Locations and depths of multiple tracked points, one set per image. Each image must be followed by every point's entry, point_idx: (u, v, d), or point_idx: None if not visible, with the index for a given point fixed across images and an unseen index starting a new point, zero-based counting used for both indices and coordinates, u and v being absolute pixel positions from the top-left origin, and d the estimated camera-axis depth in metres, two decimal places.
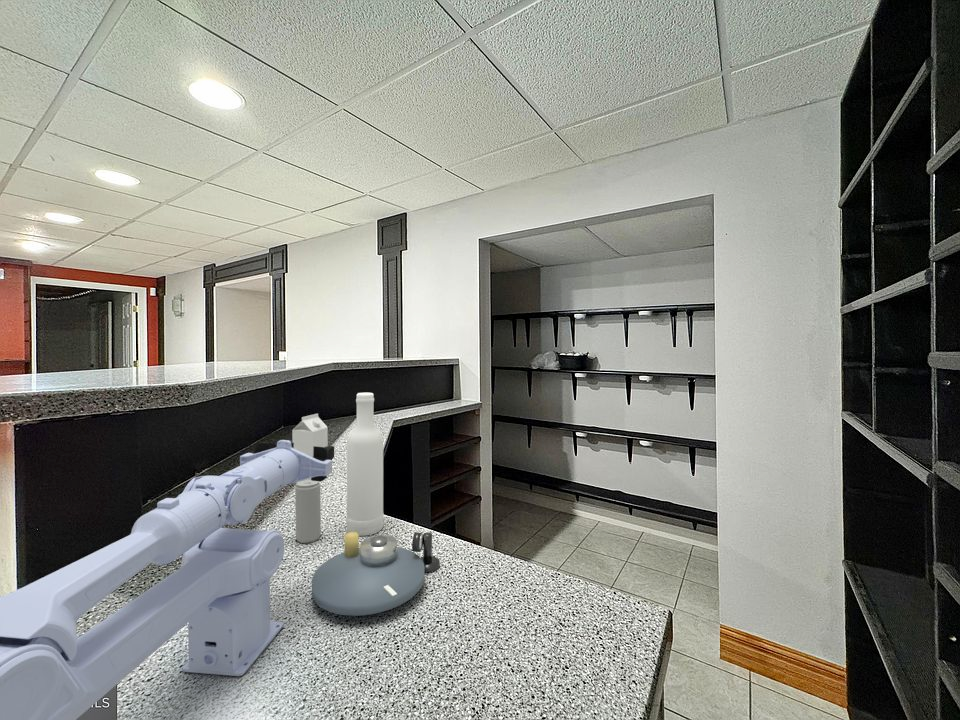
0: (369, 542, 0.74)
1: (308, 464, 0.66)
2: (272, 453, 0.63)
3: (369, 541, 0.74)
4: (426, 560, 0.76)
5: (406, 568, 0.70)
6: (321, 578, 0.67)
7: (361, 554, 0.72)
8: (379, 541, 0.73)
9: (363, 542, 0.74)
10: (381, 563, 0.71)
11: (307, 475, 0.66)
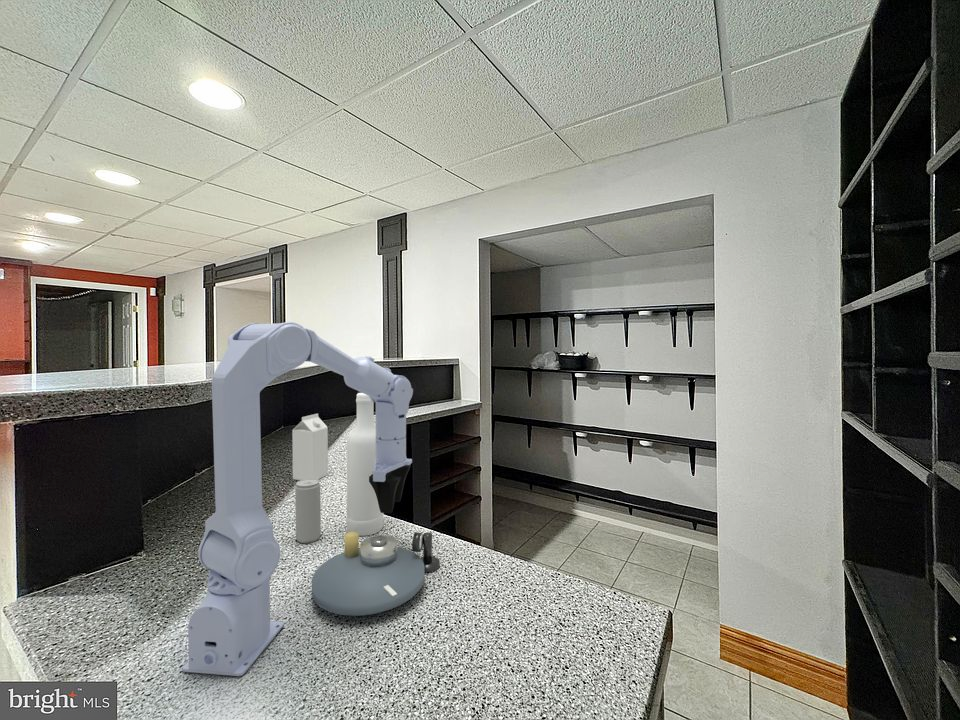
0: (369, 542, 0.74)
1: None
2: (405, 445, 0.80)
3: (369, 541, 0.74)
4: (426, 560, 0.76)
5: (406, 568, 0.70)
6: (321, 578, 0.67)
7: (361, 554, 0.72)
8: (379, 541, 0.73)
9: (363, 542, 0.74)
10: (381, 563, 0.71)
11: None
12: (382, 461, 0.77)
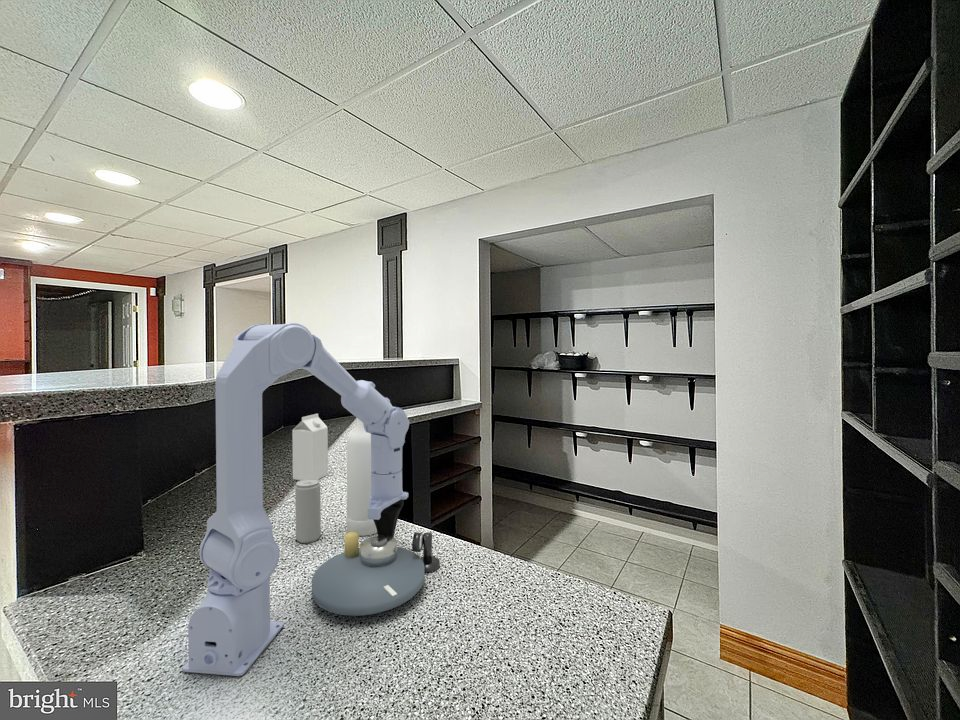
0: (369, 542, 0.74)
1: None
2: (401, 479, 0.77)
3: (369, 541, 0.74)
4: (426, 560, 0.76)
5: (406, 568, 0.70)
6: (321, 578, 0.67)
7: (361, 554, 0.72)
8: (379, 541, 0.73)
9: (363, 542, 0.74)
10: (381, 563, 0.71)
11: None
12: (377, 496, 0.75)
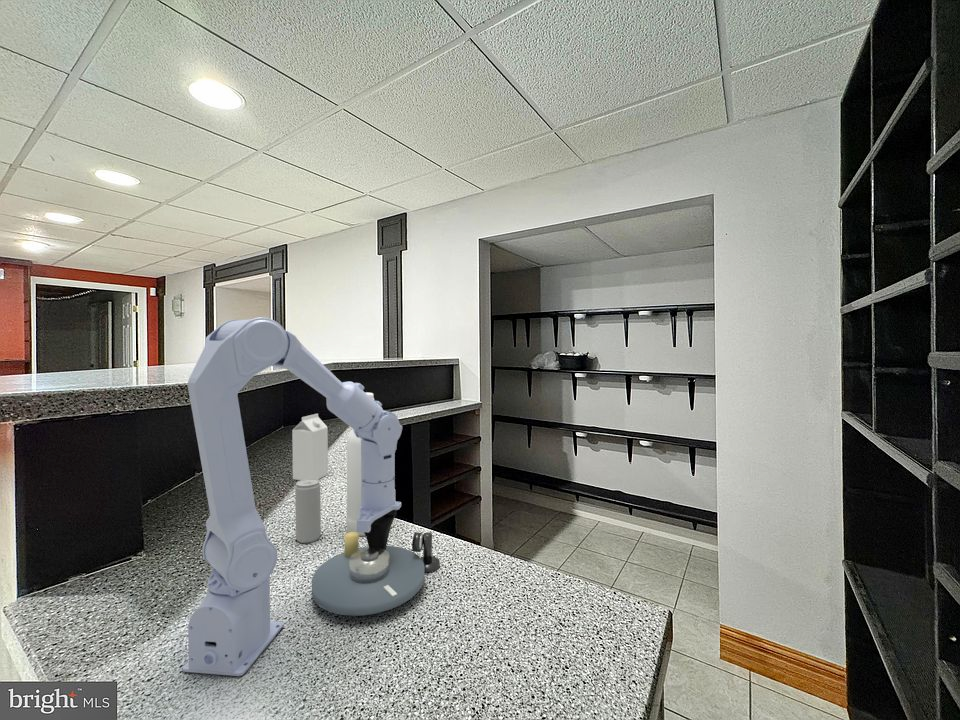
0: (359, 556, 0.69)
1: None
2: (393, 487, 0.72)
3: (359, 555, 0.69)
4: (426, 560, 0.76)
5: (406, 568, 0.70)
6: (321, 578, 0.67)
7: (350, 569, 0.67)
8: (370, 555, 0.68)
9: (353, 556, 0.69)
10: (372, 579, 0.66)
11: None
12: (368, 506, 0.70)
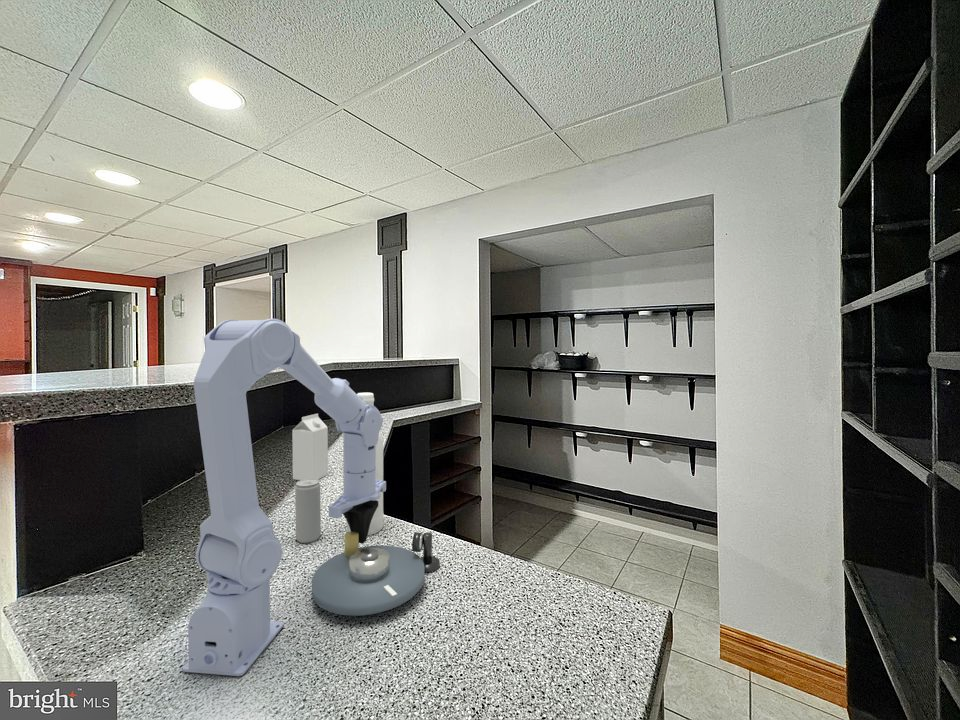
0: (359, 556, 0.69)
1: None
2: (372, 479, 0.76)
3: (359, 555, 0.69)
4: (426, 560, 0.76)
5: (406, 568, 0.70)
6: (321, 578, 0.67)
7: (350, 569, 0.67)
8: (370, 555, 0.68)
9: (353, 556, 0.69)
10: (372, 579, 0.66)
11: (339, 501, 0.74)
12: (346, 494, 0.74)
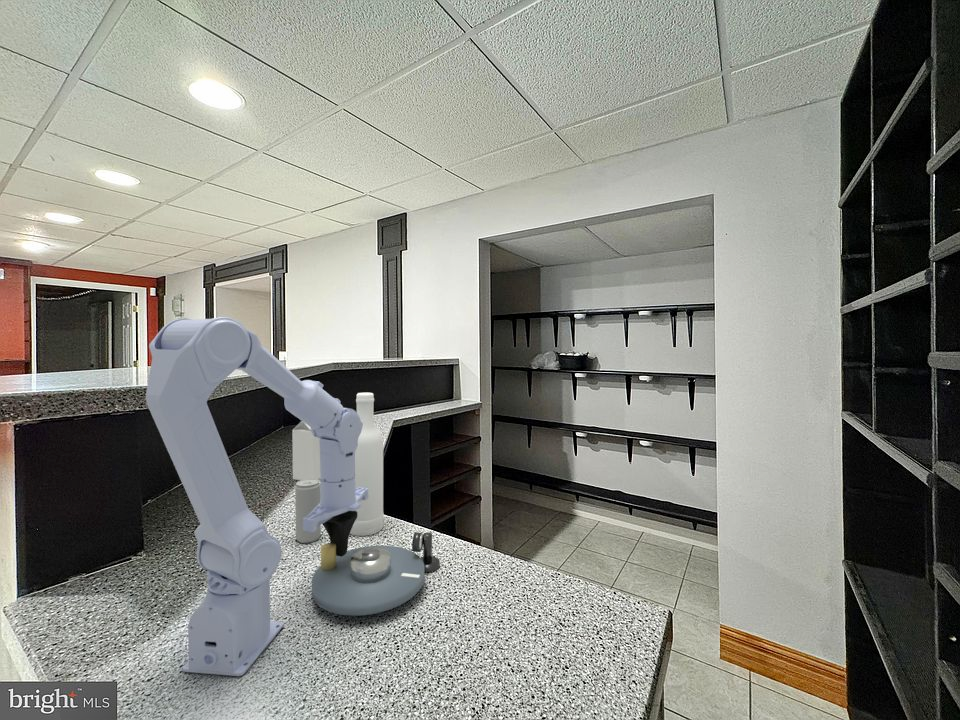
0: (360, 559, 0.68)
1: None
2: (351, 488, 0.70)
3: (358, 558, 0.68)
4: (426, 560, 0.76)
5: (398, 557, 0.74)
6: (330, 594, 0.63)
7: (360, 573, 0.66)
8: (374, 554, 0.68)
9: (354, 561, 0.67)
10: (385, 574, 0.67)
11: (315, 512, 0.68)
12: (323, 505, 0.69)
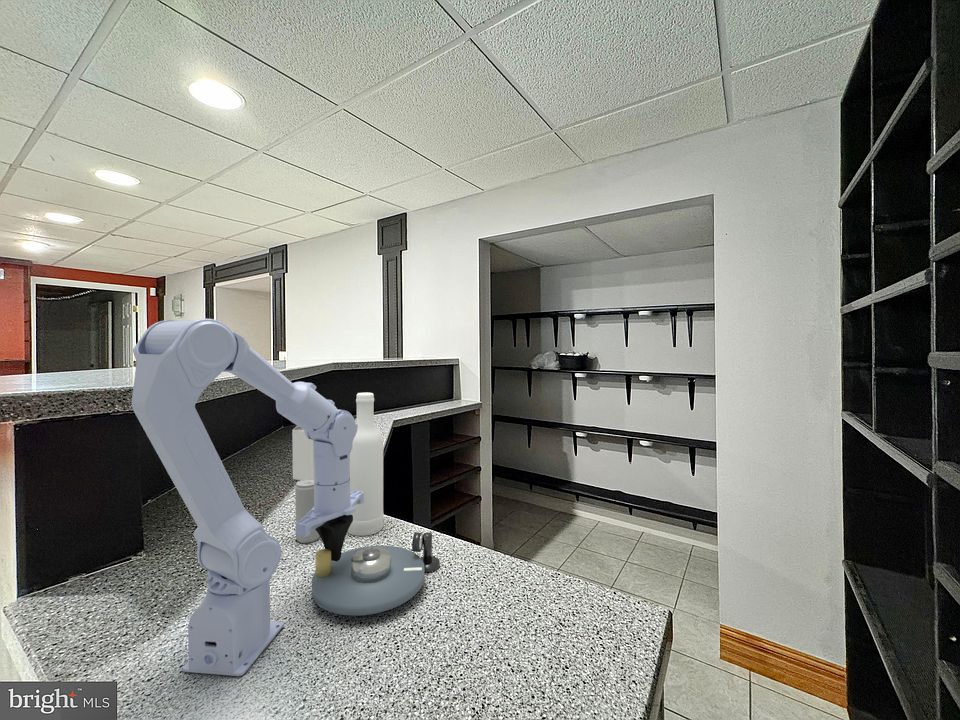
0: (361, 560, 0.68)
1: None
2: (346, 491, 0.69)
3: (359, 560, 0.68)
4: (426, 560, 0.76)
5: (391, 554, 0.75)
6: (341, 597, 0.62)
7: (366, 573, 0.66)
8: (375, 553, 0.69)
9: (356, 563, 0.67)
10: (389, 571, 0.68)
11: None
12: (317, 509, 0.67)
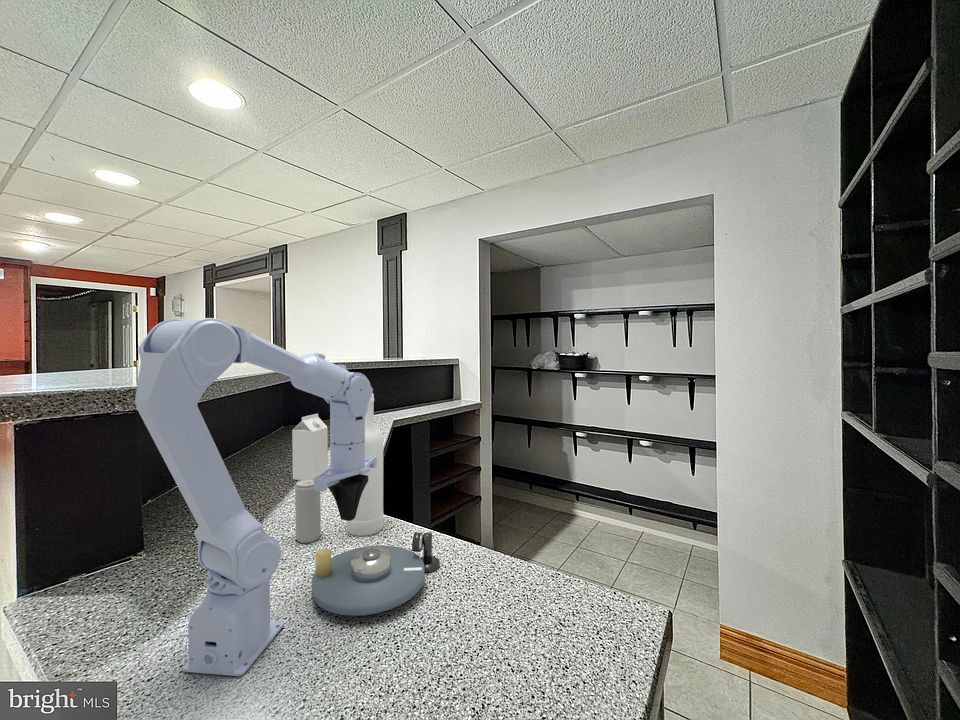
0: (361, 560, 0.68)
1: None
2: (361, 452, 0.71)
3: (359, 560, 0.68)
4: (426, 560, 0.76)
5: (391, 554, 0.75)
6: (341, 597, 0.62)
7: (366, 573, 0.66)
8: (375, 553, 0.69)
9: (356, 563, 0.67)
10: (389, 571, 0.68)
11: None
12: (333, 468, 0.70)
